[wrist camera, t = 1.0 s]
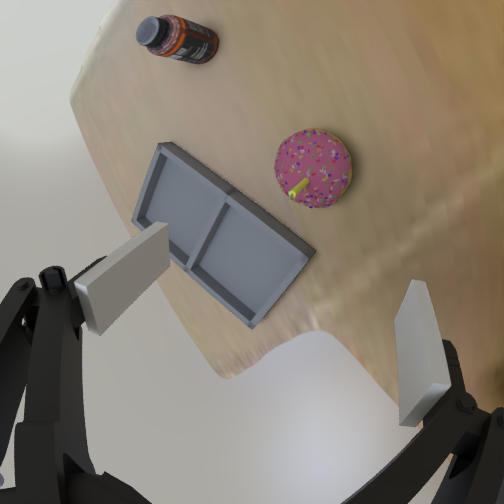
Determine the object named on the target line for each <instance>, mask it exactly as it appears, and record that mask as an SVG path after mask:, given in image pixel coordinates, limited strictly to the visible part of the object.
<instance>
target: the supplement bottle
mask: <svg viewBox="0 0 504 504" xmlns="http://www.w3.org/2000/svg"><path fill="white" fill-rule="evenodd" d="M136 40H137V42H138V43H139V44H140V45H143V46H146V47H147V49H148V50H149V52H151V53H152V54H154V55H157V56H162V57H167V58H172V59H176V60H181V61H185V62H189V63H194V64H200V63H204V62H206V61H207V60H209V59H210V58H211V57H212V56H213V55H214V53H215V51H216V49H217V44H218V39H217V36H216V34H215V33H214V32H213V31H212V30H211V29H208V28H206V27H204V26H201V25H199V24H196V23H194V22H191V21H188V20H186V19H183V18H180V17H177V16H174V15H164V16H161V17H159V18H157V17H148V18H146V19H144V20H143V21H142V22H141V24H140V25H139V27H138V29H137V32H136Z"/></svg>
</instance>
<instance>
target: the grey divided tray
mask: <svg viewBox="0 0 504 504" xmlns="http://www.w3.org/2000/svg"><path fill="white" fill-rule="evenodd" d="M156 221H158V222H163V223H167V224H168V233H169V255H170V258H171V259H172V260H173V261H174V262H175V263H176V264H177V265H178V266H179V267H180V268H181V269H183V270H184V271H185V272H186V273H187V274H188V275H189V276H190V277H191V278H193V279H194V280H195V281H196V282H197V283H198V284H199V285H200V286H202V287H203V288H204V289H205V290H206V291H207V292H208V293H210V294H211V295H212V296H213V297H214V298H215V299H216V300H218V301H219V302H220V303H221V304H222V305H223V306H225V307H226V308H227V309H228V310H229V311H230V312H232V313H233V314H234V315H235V316H236V317H237V318H239V319H240V320H241V321H242V322H243V323H245V324H246V325H247V326H248V327H249V328H251V329H252V330H253V328H254V327H255V326H256V325H257V324H258V323H259V322H260V320H261V319H262V318H263V317H264V316H265V314H266V313H267V312H268V311H269V310H270V308H271V307H272V306H273V305H274V303H275V302H276V301H277V300H278V299H279V297H280V296H281V295H282V294H283V292H284V291H285V290H286V289H287V287H288V286H289V285H290V284H291V282H292V281H293V280H294V279H295V277H296V276H297V275H298V274H299V272H300V271H301V270H302V268H303V267H304V266H305V265H306V263H307V262H308V261H309V260H310V258H311V257H312V256H313V254H314V253H315V252H316V250H315V249H313V248H312V247H311V246H310V245H308V244H307V243H306V242H305V241H303V240H302V239H301V238H299V237H298V236H297V235H296V234H294V233H293V232H292V231H291V230H289V229H288V228H287V227H285V226H284V225H283V224H282V223H280V222H279V221H278V220H276V219H275V218H274V217H273V216H271V215H270V214H269V213H267V212H266V211H265V210H263V209H262V208H261V207H259V206H258V205H257V204H256V203H254V202H253V201H252V200H250V199H249V198H248V197H246V196H245V195H244V194H242V193H241V192H240V191H238V190H237V189H236V188H234V187H233V186H232V185H230V184H229V183H228V182H226V181H225V180H224V179H222V178H221V177H219V176H218V175H217V174H215V173H214V172H213V171H211V170H210V169H209V168H207V167H206V166H204V165H203V164H202V163H200V162H199V161H198V160H196V159H195V158H193V157H192V156H191V155H189V154H188V153H186V152H185V151H184V150H182V149H181V148H179V147H178V146H177V145H175V144H174V143H172V142H165V143H158V145H157V148H156V150H155V153H154V156H153V158H152V161H151V164H150V166H149V169H148V172H147V175H146V178H145V180H144V183H143V186H142V189H141V192H140V195H139V198H138V201H137V204H136V207H135V211H134V214H133V217H132V220H131V222H132V223H133V224H134V225H136V226H137V227H138V228H139V229H140V230H141V231H143V230H145V229H146V228H148V227H149V226H151V225H152V224H153V223H155V222H156Z"/></svg>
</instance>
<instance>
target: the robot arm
mask: <svg viewBox="0 0 504 504" xmlns="http://www.w3.org/2000/svg"><path fill="white" fill-rule="evenodd" d="M169 267H170V255H169V233H168V224H167V223H163V222H158V221H156V222H155V223H153V224H152V225H151V226H149V227H148V228H146V229H145V230H143V231H142V232H140V233H139V234H138V235H136V236H135V237H133V238H132V239H131V240H129V241H128V242H126V243H125V244H124V245H122V246H121V247H119V248H118V249H117V250H115V251H114V252H113V253H111V254H110V255H109V256H104V257H102V258H99V259H97V260H96V261H95V262H93V263H92V264H90V266H88V267H86V268H85V270H82V271H81V272H80V273H78V274H77V275H76V276H74V277H73V278H72V279H71V280H69V281H68V282H67V278H66V274H65V270H64V269H63V267H60V266H51V267H48V268H46V269H44V270H43V271H41V272H40V274H39V279H40V282H41V285H42V288H38V287H36V285H35V281H34V279H32V278H29V277H27V278H21V279H19V280H18V281H16V282H15V283H14V284H13V286H12V287H11V289H10V290H9V292H8V293H7V295H6V296H5V298H4V299H3V301H2V302H1V304H0V466H1V464H2V462H3V459H4V457H5V454H6V451H7V447H8V444H9V440H10V436H11V432H12V428H13V425H14V421H15V418H16V414H17V411H18V408H19V405H20V402H21V398H22V395H23V392H24V389H25V386H26V395H25V409H24V420H23V422H19V423H17V424H16V427H15V435H14V462H15V464H14V465H15V485H16V487H12V488H6V489H0V504H152V503H150V502H149V501H148V500H147V499H146V498H144V497H143V496H142V495H141V494H140V493H138V492H137V491H136V490H135V489H133V487H131V486H130V485H128V484H126V483H124V482H122V481H120V480H119V479H117V478H115V477H114V476H112V475H110V474H109V473H107V472H104V473H103V474H102V475H98V474H96V473H95V469H94V466H93V464H92V462H91V460H90V457H89V453H88V446H87V438H86V429H85V418H84V405H83V387H82V386H83V385H82V327H81V324H82V323H83V322H85V321H86V324H87V327H88V330H89V331H91V332H93V333H95V334H97V335H99V336H101V335H102V334H103V333H104V332H105V331H106V330H107V328H108V327H109V326H110V325H111V324H112V323H113V322H114V321H115V320H116V319H117V318H118V317H119V316H120V315H121V314H122V313H123V312H124V311H125V310H126V309H127V308H128V307H129V306H130V305H131V304H132V303H133V302H134V301H135V300H136V299H137V298H138V297H139V296H140V295H141V294H142V293H143V292H144V291H145V290H146V289H147V288H148V287H149V286H150V285H151V284H152V283H153V282H154V281H155V280H156V279H157V278H158V277H159V276H160V275H162V274H163V273H164V272H165V271H166V270H167V269H168V268H169ZM23 318H24V321H25V322H24V324H23V325H22V319H23ZM394 326H395V336H396V348H397V362H398V381H399V425H400V426H410V427H416V426H417V425H418V424H419V423H420V422H421V421H422V420H423V428H422V430H421V431H420V432H419V433H418V434H417V435H416V436H415V437H414V438H413V439H412V440H411V441H410V442H409V443H408V444H407V445H406V447H405V448H404V449H403V450H402V451H401V452H400V453H399V454H398V455H397V456H396V457H395V458H393V459H392V460H391V461H390V462H389V463H388V464H387V465H386V466H385V467H384V468H383V469H382V470H381V471H380V472H379V473H377V474H376V475H375V476H374V477H373V478H372V479H371V480H369V481H368V482H367V483H366V484H365V485H364V486H362V487H361V488H360V489H359V490H358V491H356V492H355V493H354V494H353V495H351V496H350V497H349V498H347V499H346V500H345V501H344V502H342V503H341V504H408V503H409V502H410V501H411V499H412V498H413V497H414V496H415V495H416V494H417V493H418V492H419V491H420V490H421V489H422V487H423V486H424V485H425V484H426V483H427V482H428V480H429V479H430V478H431V477H432V476H433V474H434V473H435V472H436V471H437V469H438V468H439V467H440V466H441V464H442V463H443V462H444V461H445V459H446V458H447V457H448V455H449V454H450V453H452V454H454V455H453V457H452V460H451V462H450V465H449V467H448V469H447V472H446V474H445V476H444V478H443V481H442V482H441V485H440V487H439V489H438V491H437V493H436V495H435V497H434V499H433V501H432V503H431V504H504V408H503V407H499V408H497V409H495V410H494V411H493V412H492V413H491V414H490V413H488V412H486V411H483V410H481V409H479V408H477V403H476V401H475V399H474V398H473V397H472V395H470V394H469V393H467V392H466V390H465V385H464V381H463V376H462V372H461V368H460V363H459V360H458V355H457V351H456V349H455V347H454V346H453V344H452V343H451V341H448V340H443V339H441V335H440V331H439V327H438V323H437V320H436V316H435V313H434V309H433V306H432V302H431V299H430V296H429V292H428V289H427V286H426V283H425V282H424V281H419V280H415V279H412V280H411V282H410V285H409V287H408V290H407V292H406V295H405V297H404V300H403V302H402V304H401V306H400V309H399V311H398V313H397V316H396V318H395V320H394ZM26 384H27V385H26ZM3 483H4V478H3V476H2V474H1V473H0V486H2V485H3Z"/></svg>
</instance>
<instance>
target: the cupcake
mask: <svg viewBox="0 0 504 504" xmlns="http://www.w3.org/2000/svg"><path fill="white" fill-rule="evenodd" d="M275 158H276V161H275V167H274V168H275V169H274V170H275V173H276V177H277V179H278V182H279V184H280V187H281V188H282V191H284V193H285V194H286V195H287V196H288V197H289V198H288V199H289V200H290V199H292V200H293V201H295V202H297V203H298V204H301V205H305V206H309V207H310V208H313V207H314V208H323V207H324V208H326V207H327V206H330V205H332V204H334V203H335V202H336V201H337V199H338V198H339V197H340V196H341V195H342V194H343V193H344V192H345V191H346V189H347V187H348V186H349V184H350V182H351V179H352V164H351V156H350V154H349V152H348V150H347V149H346V147H345V146H344V144H343V142H342V141H341V140H340V139H339V138H338V137H336V136H335V135H333V134H331V133H330V132H328V131H326V130H323V129H306V130H303V131H300V132H298V133H295V134H293V135H292V136H290V137H288V138H287V139H286V140H284V141H283V142H282V144H281V145H280V147H279V150H278V151H277V155H276V156H275Z"/></svg>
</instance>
